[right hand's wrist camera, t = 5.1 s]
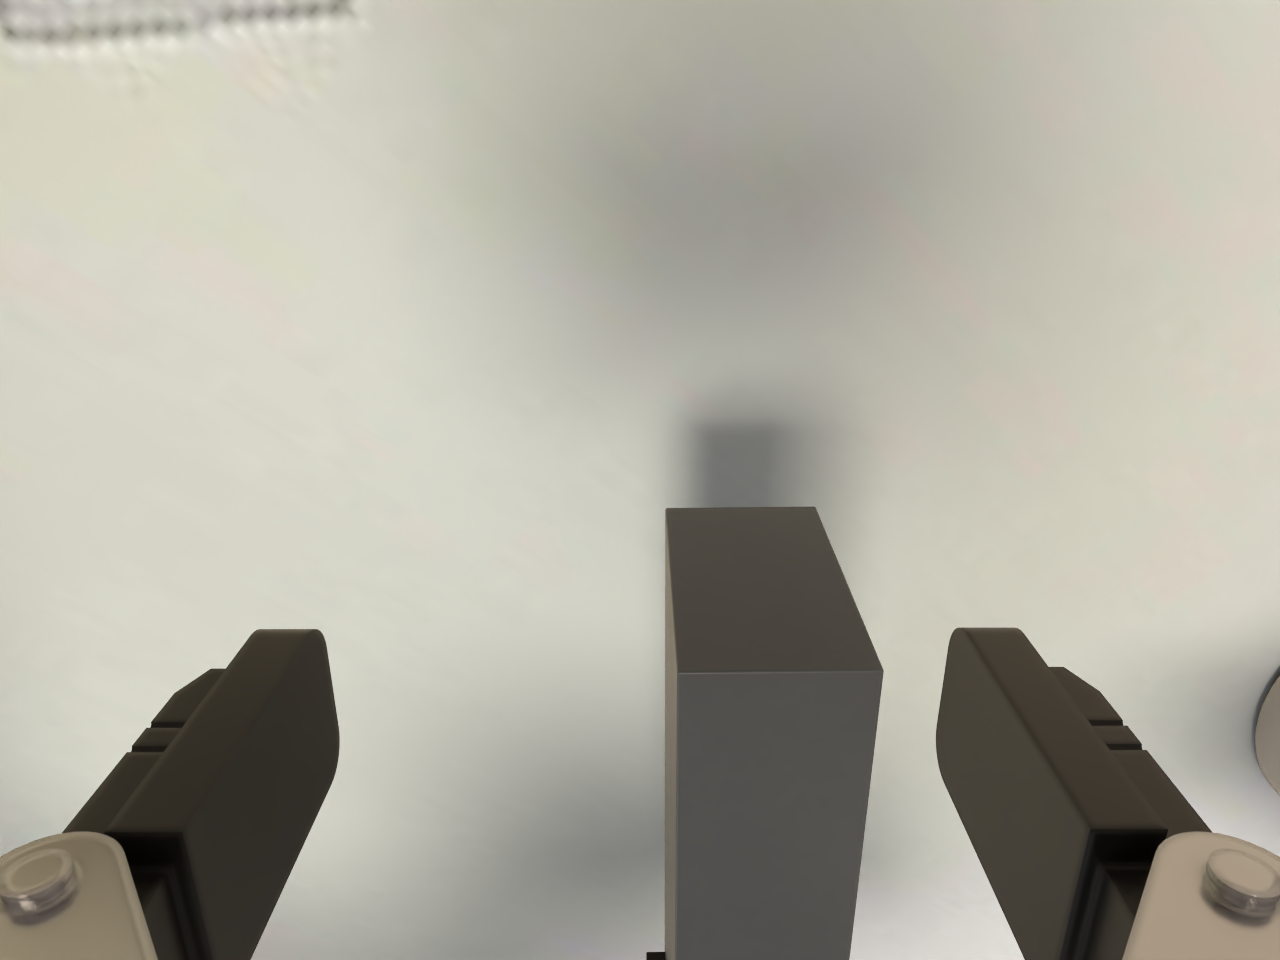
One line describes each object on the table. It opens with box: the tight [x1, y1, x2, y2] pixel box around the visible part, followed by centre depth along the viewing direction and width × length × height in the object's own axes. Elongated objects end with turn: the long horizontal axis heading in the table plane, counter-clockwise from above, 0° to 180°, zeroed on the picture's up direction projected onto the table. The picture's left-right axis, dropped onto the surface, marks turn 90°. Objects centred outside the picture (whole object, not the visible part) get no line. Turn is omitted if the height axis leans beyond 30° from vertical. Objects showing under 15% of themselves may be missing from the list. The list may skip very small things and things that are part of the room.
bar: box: [665, 507, 883, 960], centre depth 30 cm, size 24×5×9 cm, turn 1°
